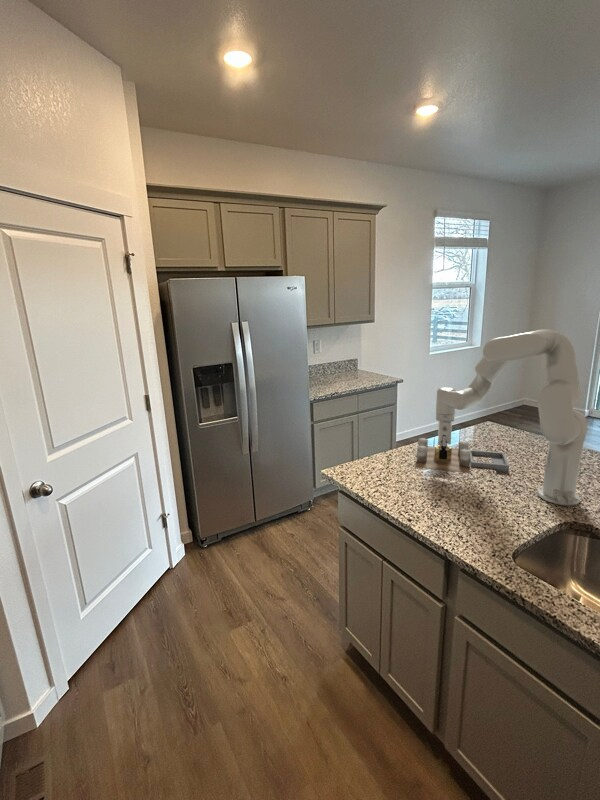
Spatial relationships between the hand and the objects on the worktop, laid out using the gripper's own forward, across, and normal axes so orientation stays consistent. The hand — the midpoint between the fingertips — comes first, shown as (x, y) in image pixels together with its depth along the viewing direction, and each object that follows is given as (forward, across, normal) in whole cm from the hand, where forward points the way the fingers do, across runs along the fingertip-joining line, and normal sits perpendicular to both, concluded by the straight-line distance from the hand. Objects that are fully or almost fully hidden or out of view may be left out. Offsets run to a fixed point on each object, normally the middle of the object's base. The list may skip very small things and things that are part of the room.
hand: (442, 455), depth 169 cm
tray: (+2, +1, -18) cm, 18 cm away
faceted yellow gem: (+1, 0, 0) cm, 1 cm away
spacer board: (+2, 0, 0) cm, 2 cm away
